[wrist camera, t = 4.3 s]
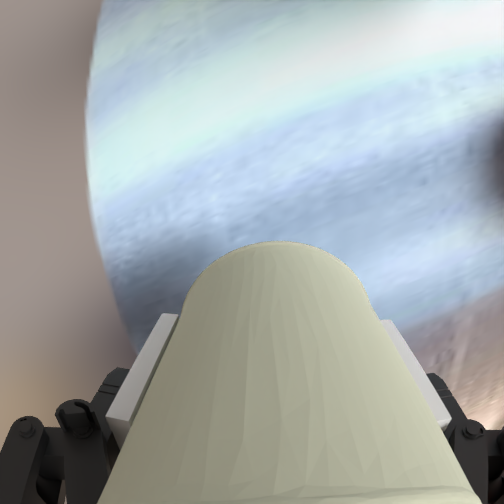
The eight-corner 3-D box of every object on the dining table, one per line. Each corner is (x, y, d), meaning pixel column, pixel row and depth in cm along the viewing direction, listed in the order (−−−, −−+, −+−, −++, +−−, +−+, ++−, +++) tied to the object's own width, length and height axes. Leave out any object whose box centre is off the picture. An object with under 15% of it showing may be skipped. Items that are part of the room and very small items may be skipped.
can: (362, 391, 16) (418, 584, 5) (200, 403, 17) (156, 599, 5) (373, 231, 13) (578, 440, 2) (164, 249, 14) (-18, 476, 3)
